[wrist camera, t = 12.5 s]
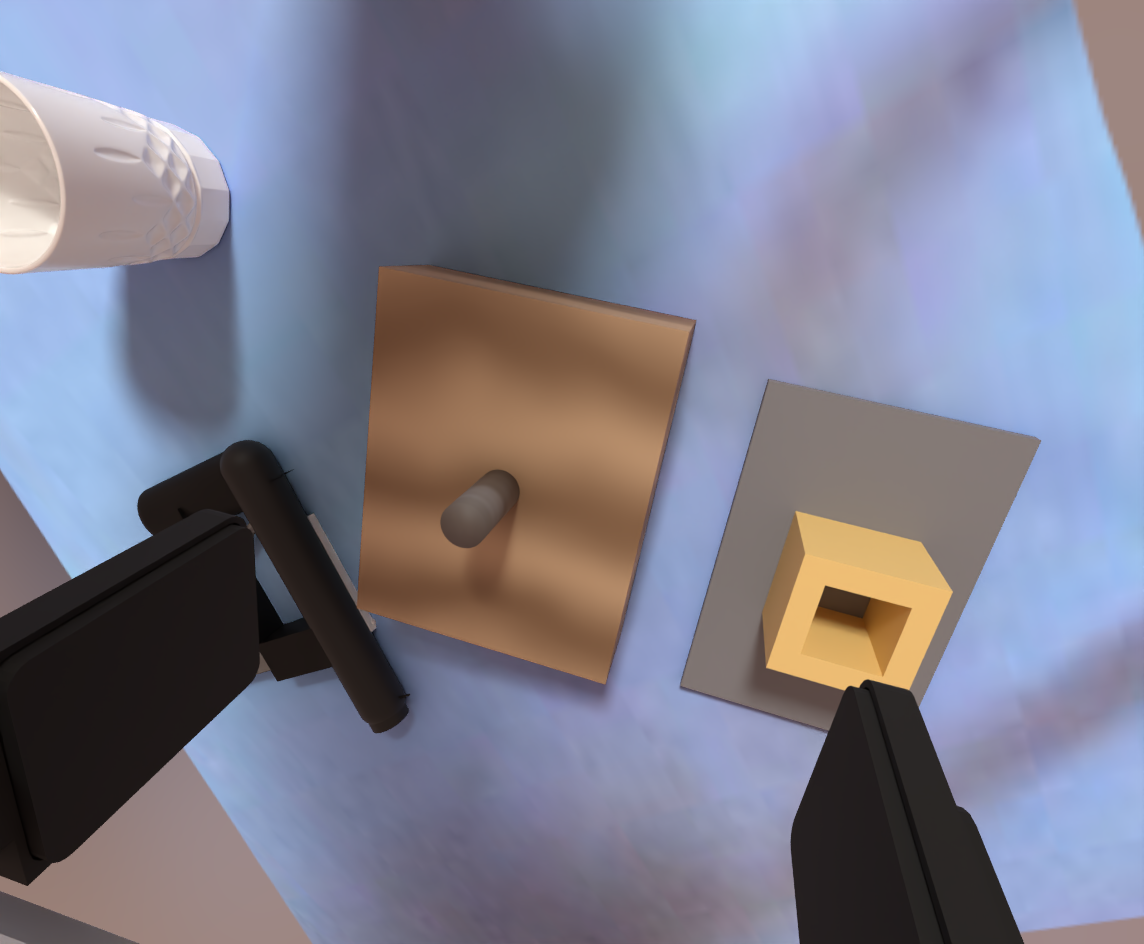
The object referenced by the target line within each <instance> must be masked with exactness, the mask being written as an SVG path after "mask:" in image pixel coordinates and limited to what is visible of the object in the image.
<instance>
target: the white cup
mask: <svg viewBox="0 0 1144 944" xmlns="http://www.w3.org/2000/svg"><path fill="white" fill-rule="evenodd" d="M228 222H229V189H228V186H227V183H226V180H225V177H224V174H223V172H222V169H221V166H220V163H219V161H218V160H217V158H216V157H215V156H214V155H213V154H212V152H211V151H210V150H209V149H208V147H207V146H206V145H205V144H204V142H203V141H202V140H201V139H200V138H199V137H198V136H196V135H194V134H192V133H190V132H188V131H186V130H184V129H182V128H180V127H178V126H176V125H174V124H170V123H167V122H163V121H160V120H156V119H152V118H149V117H146V116H145V115H142V114H140V113H137V112H134V111H132V110H129V109H125V108H122V107H119V106H115V105H112V104H109V103H106V102H103V101H100V100H97V99H94V98H90V97H88V96H85V95H81V94H78V93H74V92H71V91H67V90H64V89H60V88H57V87H54V86H50V85H47V84H43V83H40V82H36V81H33V80H29V79H26V78H22V77H19V76H16V75H12V74H9V73H5V72H2V71H0V273H4V274H24V273H37V272H51V271H64V270H78V269H93V268H108V267H115V266H126V265H136V264H144V263H152V262H154V261H158V260H166V259H176V258H194V257H200V256H202V255H203V254H205V253H206V252H207V251H209V250H210V249H212V248H213V247H215V246H216V245H217V244H219V242H220V239H221V237H222V235H223V233H224V231H225V228H226V226H227V224H228Z"/></svg>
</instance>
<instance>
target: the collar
mask: <svg viewBox="0 0 1144 944" xmlns="http://www.w3.org/2000/svg"><path fill="white" fill-rule="evenodd" d="M825 585H826V586H829V587H833V588H837V589H841V590H845V591H848V592H852V593H856V594H860V595H863V596H867V597H871V599H870V601H869V604H868V606H867V609H866V611H865V614H864V616H863V618H859V617H855V616H852V615H848V614H844V613H841V612H837V611H833V610H830V609H826V608H822V607H819V606H818V604H819V601H820V598H821V595H822V593H823V590H824V587H825ZM952 593H953V591H952V590H951V588H950V587H949V585H948V583H947V582H946V580H945V579H944V577H943V576H942V574H941V572H940V571H939V569H938V568H937V566H936V565H935V563H934V561H933V560H932V558H931V557H930V555H929V554H928V552H927V551H926V549H925V547H924V546H923V544H922V543H921V542H919V541H915V540H911V539H907V538H903V537H899V536H895V535H891V534H886V533H882V532H878V531H874V530H870V529H866V528H862V527H858V526H854V525H850V524H846V523H842V522H838V521H834V520H830V519H826V518H822V517H818V516H814V515H810V514H806V513H802V512H798V511H795V514H794V517H793V520H792V523H791V526H790V529H789V532H788V535H787V538H786V541H785V544H784V547H783V550H782V554H781V557H780V560H779V563H778V566H777V569H776V572H775V575H774V578H773V581H772V584H771V587H770V590H769V593H768V596H767V599H766V602H765V605H764V608H763V611H762V616H763V630H764V645H765V659H766V668H769V669H772V670H776V671H779V672H783V673H786V674H790V675H793V676H797V677H800V678H804V679H807V680H810V681H814V682H817V683H821V684H824V685H828V686H831V687H835V688H838V689H842V690H846V688H847V687H848V686H854V687H858V688H859V687H860V685H861V683H862V682H863V681H864V680H867V679H869V680H873V681H877V682H881V683H884V684H888V685H892V686H896V687H900V688H904V689H908V690H909V689H910V687H911V685H912V682H913V680H914V678H915V676H916V673H917V671H918V669H919V667H920V665H921V662H922V660H923V658H924V656H925V653H926V651H927V649H928V647H929V644H930V642H931V640H932V638H933V635H934V633H935V631H936V629H937V626H938V624H939V622H940V620H941V617H942V615H943V613H944V611H945V609H946V606H947V604H948V602H949V600H950V597H951V595H952Z"/></svg>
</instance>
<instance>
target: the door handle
mask: <svg viewBox="0 0 1144 944" xmlns="http://www.w3.org/2000/svg"><path fill="white" fill-rule="evenodd" d="M291 471H292V470H291ZM288 472H290V471H288ZM288 472H286V473H288ZM286 473H283V472H282V470H281V468H280V466H279V464H278V463H277V461H276V459H275V457H274V455H273V454H272V452H271V451H270V450H269V449H268V448H267V447H266V446H265V445H263V444H261V443H259V442H256V441H252V440H244V441H239V442H236V443H234V444H232V445H231V446H229V447H228V448H227V449H226V450H225V451H224V452H222V453H220V454H218V455H216V456H214V457H212V458H210V459H208V460H206V461H204V462H202V463H200V464H198V465H196V466H194V467H192V468H190V469H188V470H186V471H184V472H182V473H180V474H178V475H176V476H173V477H171V478H169V479H167V480H165V481H163V482H161V483H159V484H157V485H155V486H153V487H151V488H149V489H147V490H145V491H144V492H143V493H142V494H141V495H140V497H139V499H138V505H137V507H138V514H139V517H140V519H141V521H142V523H143V525H144V526H145V528H146V529H147V530H148V531H149V532H150V533H151V534H152V535H155V534H157V533H159V532H161V531H163V530H164V529H166V528H168V527H170V526H172V525H174V524H176V523H177V522H179V521H181V520H183V519H185V518H187V517H189V516H190V515H192V514H194V513H196V512H198V511H200V510H203V509H211V510H215V511H219V512H223V513H227V514H231V515H237V514H239V513H241V512H244V514H245V516H246V518H247V519H248V521H249V524H248V525H247V528H248V529H250V530H251V532H252V533H253V537H254V535H255V533H256V535H257V537H258V539H259V540H260V542H261V544H262V546H263V547H264V549H265V551H266V553H267V554H268V556H269V558H270V560H271V561H272V563H273V565H274V566H275V568H276V570H277V572H278V573H279V575H280V577H281V579H282V580H283V582H284V584H285V586H286V587H287V589H288V591H289V593H290V594H291V596H292V598H293V600H294V601H295V603H296V605H297V607H298V608H299V610H300V612H301V613H302V615H303V617H304V618H301V619H298V620H295V621H293V622H290V623H287V624H284V625H283V623H282V621H281V620H280V618H279V616H278V615H277V613H276V611H275V609H274V608H273V606H272V604H271V603H270V601H269V599H268V597H267V596H266V594H265V592H264V591H263V589H262V587H261V585H260V584H259V582H258V580H257V579H256V593H257V612H258V632H259V651H260V665H259V669H258V672H257V674H260V673H263V672H267V671H270V670H271V672H272V673H273V675H274V677H275V678H276V680H277V681H281V680H285V679H289V678H292V677H296V676H300V675H304V674H307V673H311V672H315V671H319V670H322V669H326V668H330V667H333V669H334V671H335V673H336V674H337V676H338V678H339V680H340V681H341V683H342V685H343V687H344V688H345V690H346V692H347V694H348V695H349V697H350V699H351V701H352V702H353V704H354V706H355V708H356V709H357V711H358V713H359V714H360V716H361V718H362V719H363V720H364V721H365V722H367V723H369V725H370V727H371V729H372V730H373V732H374V733H382V732H385V731H387V730H389V729H391V728H393V727H394V726H396V725H397V724H398V723H400V722H401V721H402V720H403V719H404V718H405V717H406V715H407V714H408V711H409V709H408V707H407V705H406V703H405V697H406V696H408V697H409V696H410V694H406V695H405V694H404V691H403V689H402V687H401V685H400V683H399V681H398V680H397V678H396V676H395V674H394V672H393V671H392V669H391V667H390V665H389V663H388V661H387V660H386V658H385V656H384V654H383V652H382V651H381V649H380V647H379V645H378V643H377V642H376V640H375V638H374V636H373V634H372V633H371V632H372V631H373V630H374V629H375V628H377V626H376V621H375V620H374V619H373V618H372V617H371V616H370V614H369V612H367V611H364V610H361V609H357V596H358V592H357V590H356V588H355V587H354V585H353V583H352V581H351V579H350V578H349V576H348V574H347V572H346V570H345V569H344V567H343V565H342V563H341V561H340V560H339V558H338V556H337V554H336V552H335V550H334V549H333V547H332V545H331V543H330V541H329V540H328V538H327V536H326V534H325V532H324V531H323V529H322V527H321V525H320V523H319V522H318V520H317V518H316V516H315V514H314V513H313V514H311V515H308V516H307V515H306V513H305V511H304V510H303V508H302V506H301V504H300V502H299V501H298V499H297V497H296V495H295V493H294V492H293V490H292V488H291V486H290V484H289V483H288V481H287V479H286V477H285V475H284V474H286Z"/></svg>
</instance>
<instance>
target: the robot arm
mask: <svg viewBox="0 0 1144 944" xmlns="http://www.w3.org/2000/svg"><path fill="white" fill-rule="evenodd" d="M259 665H260V651H259V632H258V612H257V593H256V574H255V555H254V538H253V533H252V532H251V530H250V529H248V528H247V525H246V523H245V521H244V519H242V518H241V517H238V516H235V515H231V514H227V513H223V512H219V511H215V510H211V509H203V510H200V511H198V512H196V513H194V514H192V515H190V516H189V517H187V518H185V519H183V520H181V521H179V522H177V523H176V524H174V525H172V526H170V527H168V528H166V529H164V530H163V531H161V532H159V533H157V534H155V535H153V536H151V537H150V538H148V539H146V540H144V541H142V542H140V543H138V544H137V545H135V546H133V547H131V548H129V549H127V550H125V551H124V552H122V553H120V554H118V555H116V556H114V557H112V558H111V559H109V560H107V561H105V562H103V563H101V564H99V565H98V566H96V567H94V568H92V569H90V570H88V571H86V572H85V573H83V574H81V575H79V576H77V577H75V578H73V579H72V580H70V581H68V582H66V583H64V584H62V585H60V586H59V587H57V588H55V589H53V590H52V591H49V592H47V593H46V594H44V595H42V596H40V597H38V598H36V599H34V600H33V601H31V602H29V603H27V604H25V605H23V606H22V607H20V608H18V609H16V610H14V611H12V612H10V613H8V614H7V615H5V616H3V617H1V618H0V876H3V877H6V878H8V879H10V880H13V881H16V882H18V883H21V884H24V885H26V886H28V885H29V884H30V883H31V882H32V881H33V880H35V878H37V877H38V876H39V875H40V874H41V873H42V872H43V871H44V870H45V869H46V868H47V867H48V866H49V865H50V864H52V863H56V862H60V861H62V860H64V859H65V858H67V857H68V856H69V855H71V854H72V853H73V852H74V851H75V850H76V849H78V847H80V846H81V845H82V844H83V843H84V842H85V841H86V840H87V839H88V838H89V837H90V836H91V835H92V834H93V833H94V832H95V831H96V830H97V829H98V828H100V826H102V825H103V824H104V823H105V822H106V821H107V820H108V819H109V818H110V817H111V816H112V815H113V814H114V813H115V812H116V811H117V810H118V809H119V808H120V807H121V806H123V805H124V804H125V803H126V802H127V801H128V800H129V799H130V798H131V797H132V796H133V795H134V794H135V793H136V792H137V791H138V790H139V789H140V788H141V787H142V786H144V785H145V784H146V783H147V782H148V781H149V780H150V779H151V778H152V777H153V776H154V775H155V774H156V773H157V772H158V771H159V770H160V769H161V768H162V767H163V766H164V765H166V763H167V762H169V761H170V760H171V759H172V758H173V757H174V756H175V755H176V754H177V753H178V752H179V751H180V750H181V749H182V748H183V747H184V746H185V745H187V744H188V743H189V742H190V741H191V740H192V739H193V738H194V737H195V736H196V735H197V734H198V733H199V732H200V731H201V730H202V729H203V728H204V727H205V726H206V725H207V724H209V723H210V722H211V721H212V720H213V719H214V718H215V717H216V716H217V715H218V714H219V713H220V712H221V711H222V710H223V709H224V708H225V707H226V706H227V705H228V704H229V703H231V702H232V701H233V700H234V699H235V698H236V697H237V696H238V695H239V694H240V693H241V692H242V691H243V690H244V689H245V688H246V687H247V686H248V685H249V684H250V683H251V682H252V681H253V679H254V678H255V676H256V674H257V672H258V669H259ZM791 856H792V866H793V877H794V888H795V898H796V909H797V919H798V930H799V941H800V944H1024V942H1023V939H1022V937H1021V935H1020V932H1019V930H1018V927H1017V925H1016V922H1015V920H1014V917H1013V915H1012V912H1011V910H1010V907H1009V905H1008V903H1007V900H1006V898H1005V895H1004V893H1003V890H1002V888H1001V885H1000V883H999V880H998V878H997V875H996V873H995V871H994V868H993V866H992V863H991V861H990V858H989V856H988V853H987V851H986V848H985V846H984V843H983V841H982V839H981V836H980V834H979V831H978V829H977V826H976V824H975V822H974V821H973V819H972V817H971V815H970V814H969V813H968V812H967V811H966V810H965V809H964V808H962V807H959V806H956V803H955V801H954V798H953V796H952V793H951V790H950V788H949V785H948V783H947V780H946V778H945V775H944V772H943V770H942V767H941V765H940V762H939V759H938V757H937V754H936V752H935V749H934V746H933V744H932V741H931V739H930V736H929V733H928V731H927V728H926V726H925V723H924V720H923V718H922V715H921V713H920V710H919V708H918V705H917V702H916V700H915V697H914V695H913V694H912V692H911V691H909V690H908V689H904V688H900V687H896V686H892V685H888V684H884V683H881V682H877V681H873V680H869V679H867V680H864V681H863V682H862V683H861V685H860V687H859V688H858V687H854V686H848V687H847V688H846V690H845V692H844V694H843V696H842V699H841V701H840V704H839V706H838V709H837V711H836V714H835V717H834V719H833V722H832V724H831V727H830V729H829V732H828V734H827V737H826V739H825V742H824V745H823V747H822V750H821V752H820V755H819V757H818V760H817V762H816V765H815V768H814V770H813V773H812V775H811V778H810V780H809V783H808V785H807V788H806V790H805V793H804V796H803V798H802V801H801V803H800V806H799V808H798V811H797V813H796V816H795V819H794V822H793V826H792V832H791ZM0 944H139V943H136V942H134V941H131V940H128V939H126V938H123V937H120V936H118V935H115V934H112V933H110V932H107V931H105V930H102V929H99V928H97V927H94V926H91V925H89V924H86V923H83V922H81V921H78V920H75V919H72V918H70V917H67V916H65V915H62V914H59V913H57V912H54V911H51V910H49V909H46V908H44V907H41V906H38V905H36V904H33V903H30V902H28V901H25V900H22V899H20V898H17V897H14V896H11V895H9V894H6V893H4V892H1V891H0Z"/></svg>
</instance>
